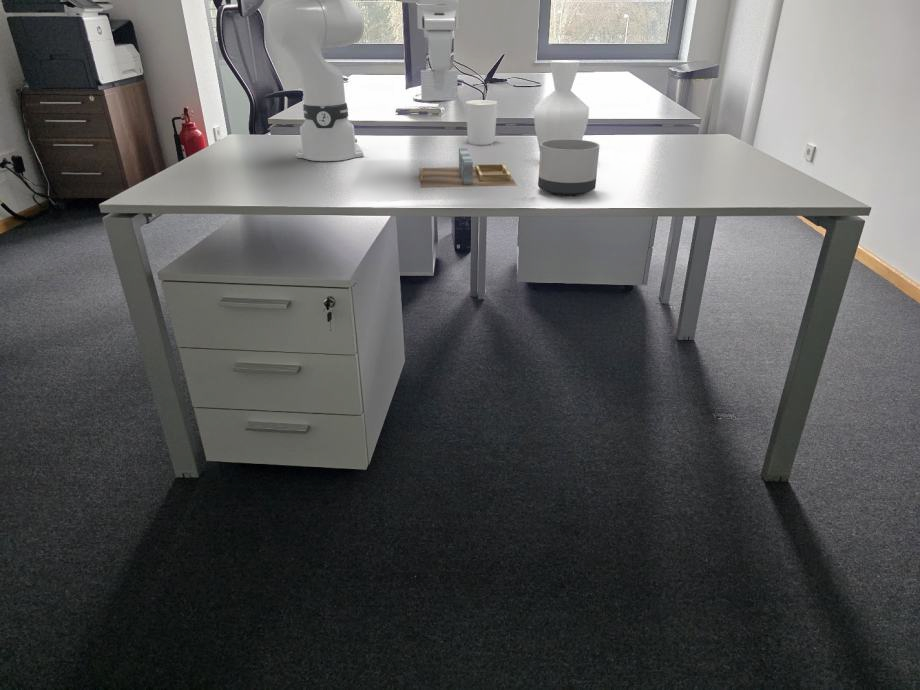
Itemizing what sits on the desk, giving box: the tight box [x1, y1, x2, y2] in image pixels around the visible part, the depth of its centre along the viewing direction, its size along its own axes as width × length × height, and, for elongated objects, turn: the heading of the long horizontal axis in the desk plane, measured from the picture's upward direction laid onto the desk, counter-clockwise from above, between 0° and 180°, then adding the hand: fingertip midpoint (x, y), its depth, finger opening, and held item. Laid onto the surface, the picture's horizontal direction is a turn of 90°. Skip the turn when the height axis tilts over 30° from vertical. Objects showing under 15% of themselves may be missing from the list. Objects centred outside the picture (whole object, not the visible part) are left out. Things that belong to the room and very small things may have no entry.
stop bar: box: [420, 69, 458, 102], centre depth 138 cm, size 4×8×6 cm, turn 94°
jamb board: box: [419, 147, 518, 188], centre depth 147 cm, size 20×22×6 cm
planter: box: [537, 139, 601, 198], centre depth 137 cm, size 13×13×10 cm
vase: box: [533, 59, 590, 151], centre depth 162 cm, size 14×14×25 cm
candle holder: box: [465, 99, 499, 146], centre depth 190 cm, size 10×10×12 cm
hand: (439, 89), depth 138 cm, fingers closed on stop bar, 4 cm apart
